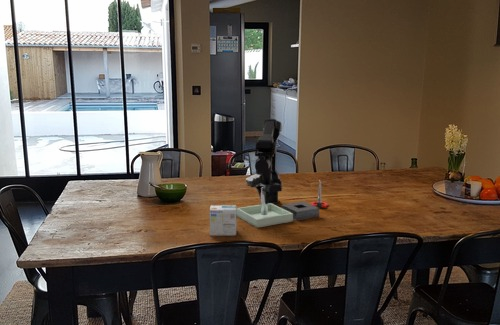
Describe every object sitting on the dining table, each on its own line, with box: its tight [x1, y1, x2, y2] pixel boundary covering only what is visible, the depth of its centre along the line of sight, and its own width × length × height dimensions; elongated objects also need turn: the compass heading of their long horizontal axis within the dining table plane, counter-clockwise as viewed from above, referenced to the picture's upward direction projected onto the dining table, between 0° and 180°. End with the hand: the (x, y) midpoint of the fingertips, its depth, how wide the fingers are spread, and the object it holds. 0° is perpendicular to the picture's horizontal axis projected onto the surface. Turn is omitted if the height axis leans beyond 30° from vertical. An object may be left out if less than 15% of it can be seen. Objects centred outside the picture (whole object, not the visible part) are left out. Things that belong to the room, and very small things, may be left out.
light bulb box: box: [209, 204, 238, 236], centre depth 198 cm, size 11×7×11 cm, turn 92°
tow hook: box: [310, 180, 329, 209], centre depth 237 cm, size 8×13×9 cm
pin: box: [260, 187, 268, 215], centre depth 216 cm, size 3×3×12 cm
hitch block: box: [281, 201, 320, 221], centre depth 223 cm, size 12×12×4 cm
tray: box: [236, 203, 294, 229], centre depth 217 cm, size 18×18×4 cm
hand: (264, 203), depth 216 cm, fingers closed on pin, 3 cm apart
